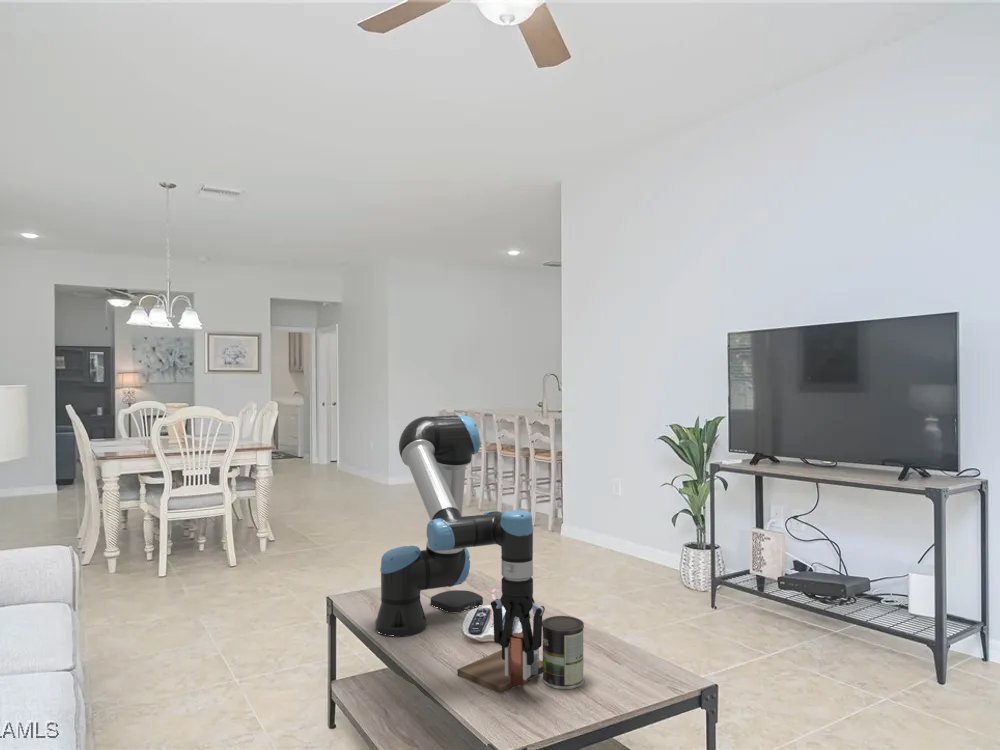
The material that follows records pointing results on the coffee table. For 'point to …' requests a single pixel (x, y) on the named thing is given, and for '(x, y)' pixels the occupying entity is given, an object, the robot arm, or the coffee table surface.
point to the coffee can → (563, 652)
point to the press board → (491, 672)
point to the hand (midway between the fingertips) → (517, 675)
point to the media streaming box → (456, 600)
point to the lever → (520, 660)
